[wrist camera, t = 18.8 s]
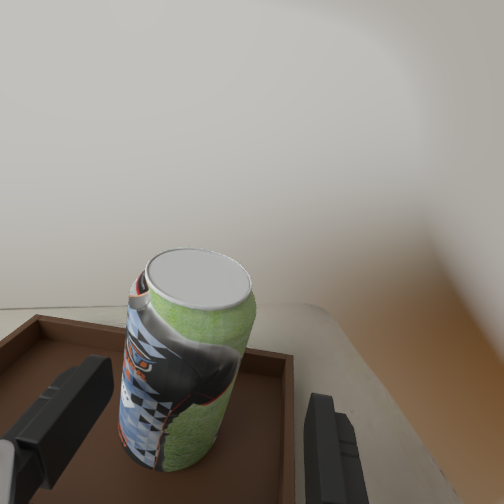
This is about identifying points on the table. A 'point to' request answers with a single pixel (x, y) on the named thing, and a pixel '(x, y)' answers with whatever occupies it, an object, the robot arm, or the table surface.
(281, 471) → the serving tray
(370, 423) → the table surface
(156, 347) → the beverage can
